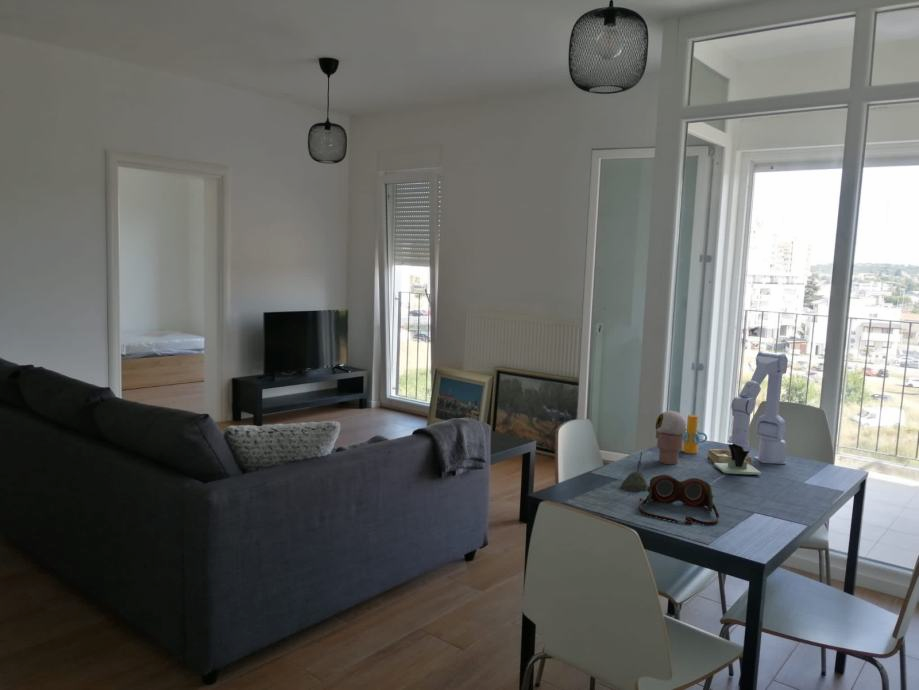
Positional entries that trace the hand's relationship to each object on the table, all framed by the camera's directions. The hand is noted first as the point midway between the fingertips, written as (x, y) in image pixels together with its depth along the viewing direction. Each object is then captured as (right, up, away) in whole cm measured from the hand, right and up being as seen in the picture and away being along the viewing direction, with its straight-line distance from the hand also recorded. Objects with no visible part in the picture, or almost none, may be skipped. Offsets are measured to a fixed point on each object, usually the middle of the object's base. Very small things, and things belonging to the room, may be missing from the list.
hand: (737, 465), depth 264 cm
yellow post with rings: (-9, +1, +26) cm, 28 cm away
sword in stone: (-44, -4, -25) cm, 51 cm away
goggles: (-37, -7, -46) cm, 59 cm away
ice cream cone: (-23, -1, +9) cm, 25 cm away
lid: (0, -2, 0) cm, 2 cm away
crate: (+2, -1, +13) cm, 13 cm away
